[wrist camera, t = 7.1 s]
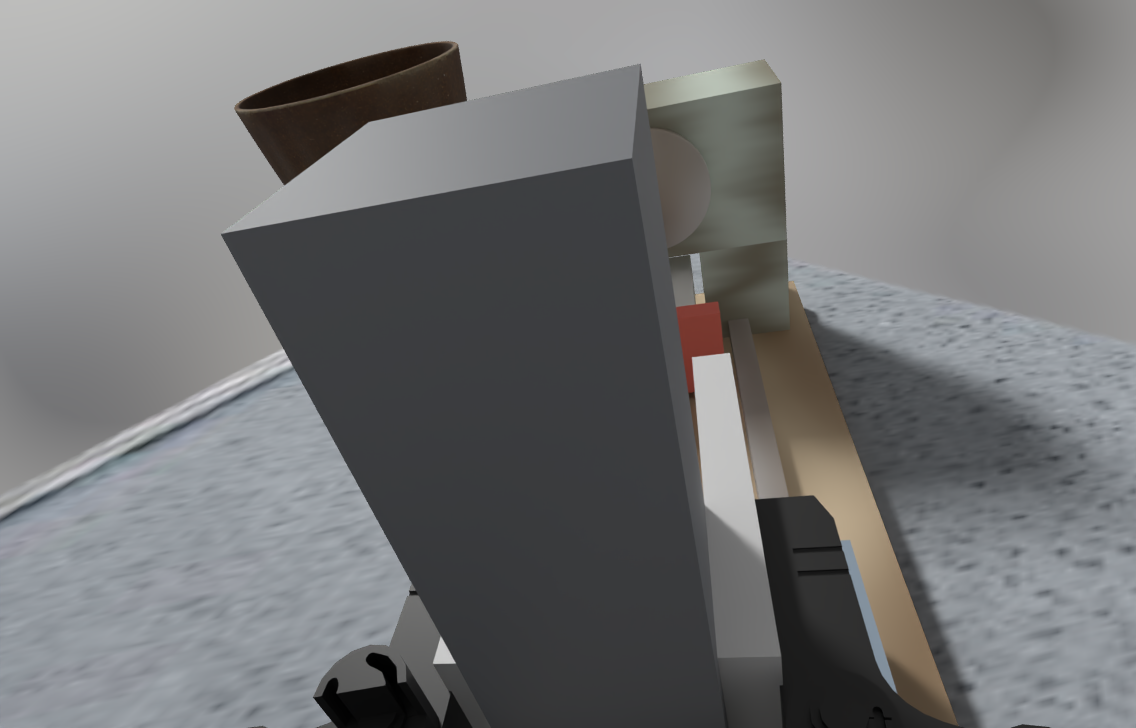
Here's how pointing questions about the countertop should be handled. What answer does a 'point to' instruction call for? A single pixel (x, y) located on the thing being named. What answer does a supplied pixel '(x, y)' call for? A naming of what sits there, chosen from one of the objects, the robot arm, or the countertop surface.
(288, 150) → the plant pot
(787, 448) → the rail track
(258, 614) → the countertop surface
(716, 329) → the button
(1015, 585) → the countertop surface
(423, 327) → the carriage
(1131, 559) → the countertop surface
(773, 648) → the robot arm
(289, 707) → the countertop surface
